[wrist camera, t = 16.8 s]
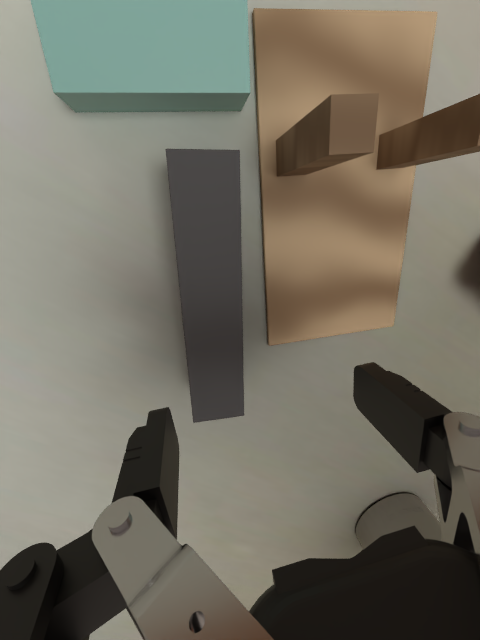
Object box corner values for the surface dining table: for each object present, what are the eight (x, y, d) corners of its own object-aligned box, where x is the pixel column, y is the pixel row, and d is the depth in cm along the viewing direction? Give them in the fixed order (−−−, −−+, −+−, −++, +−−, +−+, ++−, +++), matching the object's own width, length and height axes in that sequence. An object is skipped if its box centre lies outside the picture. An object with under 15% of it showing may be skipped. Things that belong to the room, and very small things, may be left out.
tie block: (239, 112, 17) (250, 92, 14) (77, 114, 15) (53, 92, 13) (235, 25, 15) (246, -17, 12) (55, 18, 14) (22, -31, 11)
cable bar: (233, 379, 23) (244, 415, 19) (191, 384, 23) (193, 422, 19) (226, 165, 17) (239, 150, 13) (170, 164, 17) (165, 148, 13)
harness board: (390, 324, 24) (471, 368, 17) (267, 343, 22) (303, 400, 15) (431, 16, 16) (606, -125, 10) (252, 13, 15) (308, -157, 8)
